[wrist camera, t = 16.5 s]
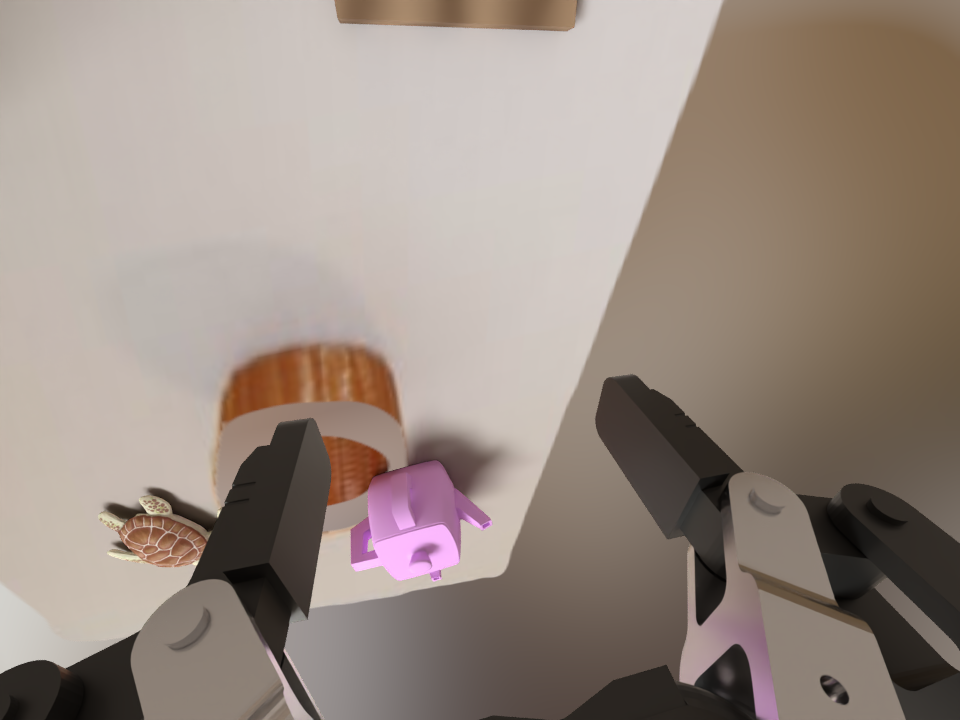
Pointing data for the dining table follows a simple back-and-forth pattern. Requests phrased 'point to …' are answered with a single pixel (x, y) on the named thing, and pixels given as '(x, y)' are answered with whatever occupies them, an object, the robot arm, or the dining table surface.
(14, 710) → the robot arm
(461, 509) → the teakettle
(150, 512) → the decorative turtle
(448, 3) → the bulb holder
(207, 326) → the dining table surface
